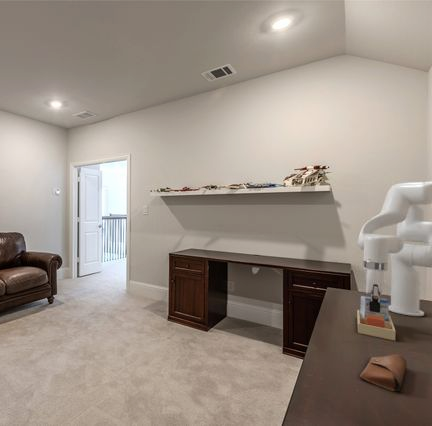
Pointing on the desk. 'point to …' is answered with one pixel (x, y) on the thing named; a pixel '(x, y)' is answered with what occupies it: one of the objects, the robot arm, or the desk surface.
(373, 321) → the terracotta block
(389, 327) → the sorter
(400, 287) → the robot arm
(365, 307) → the medicine box
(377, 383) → the sunglasses case
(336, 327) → the desk surface
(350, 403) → the desk surface
